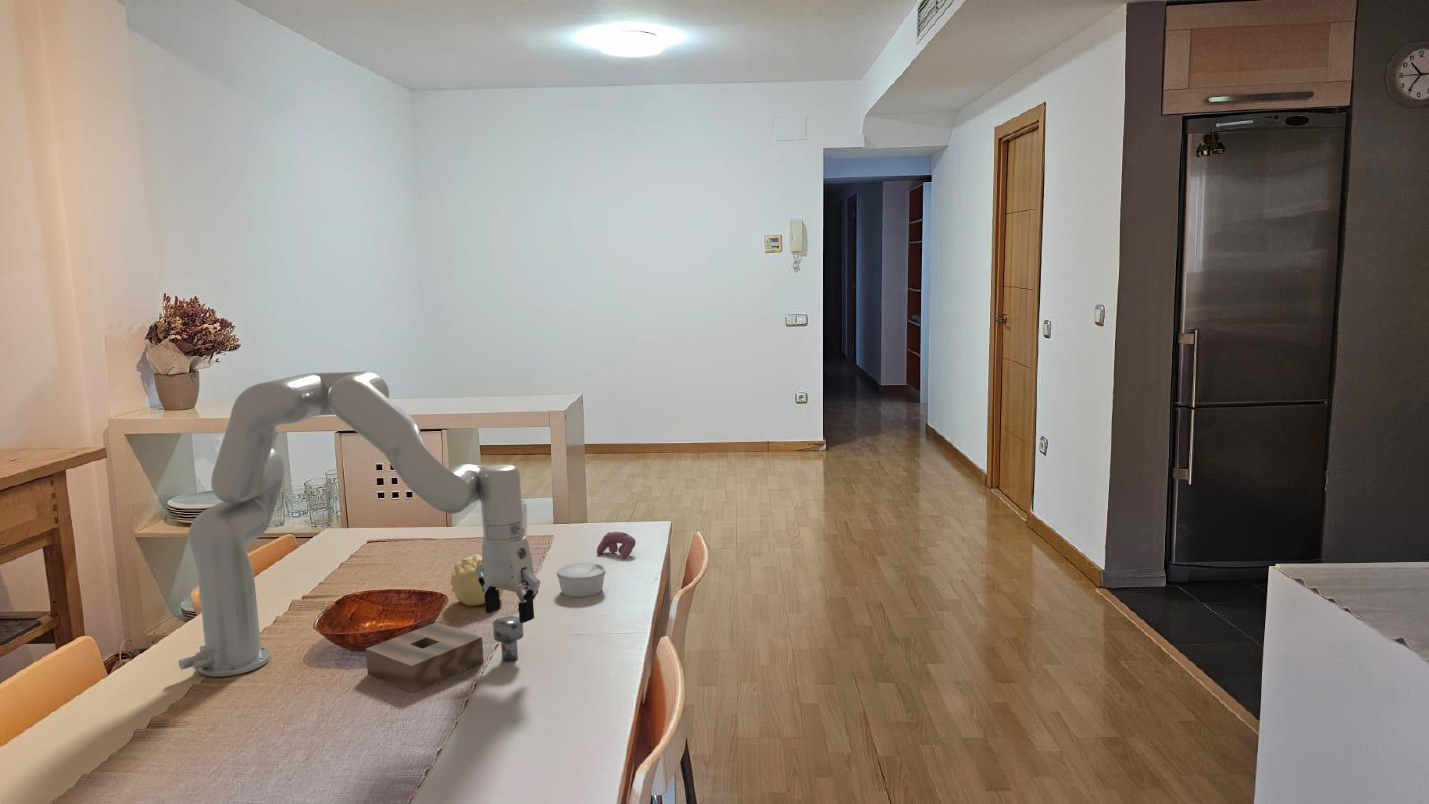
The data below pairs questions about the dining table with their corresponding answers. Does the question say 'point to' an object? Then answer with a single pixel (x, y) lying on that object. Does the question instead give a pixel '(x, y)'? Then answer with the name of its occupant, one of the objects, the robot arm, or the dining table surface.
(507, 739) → the dining table surface
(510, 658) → the steel pin
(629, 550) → the dark red animal figurine
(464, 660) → the walnut block
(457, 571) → the sculpture
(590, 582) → the ramekin
